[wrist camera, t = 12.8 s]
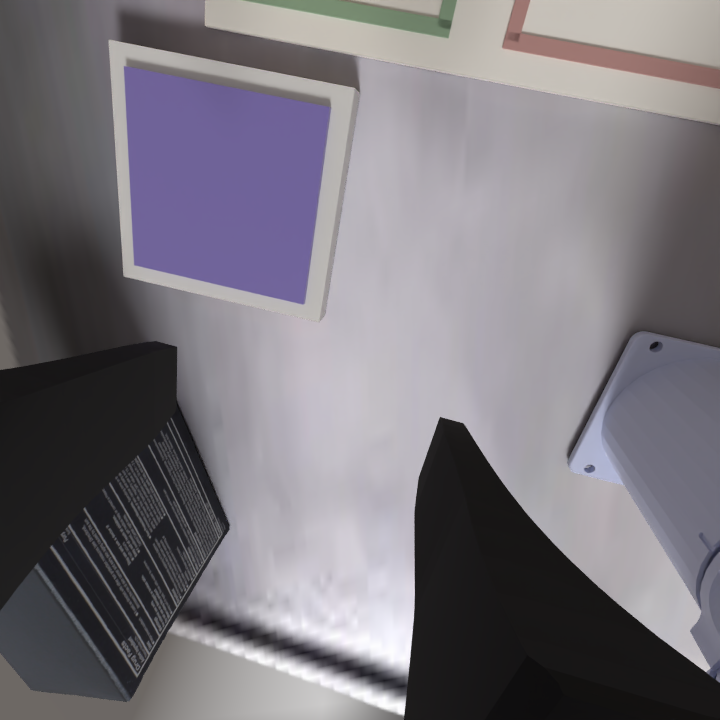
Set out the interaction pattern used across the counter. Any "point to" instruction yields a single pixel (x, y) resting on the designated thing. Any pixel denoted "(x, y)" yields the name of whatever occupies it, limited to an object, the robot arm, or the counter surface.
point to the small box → (116, 576)
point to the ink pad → (229, 177)
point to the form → (517, 43)
